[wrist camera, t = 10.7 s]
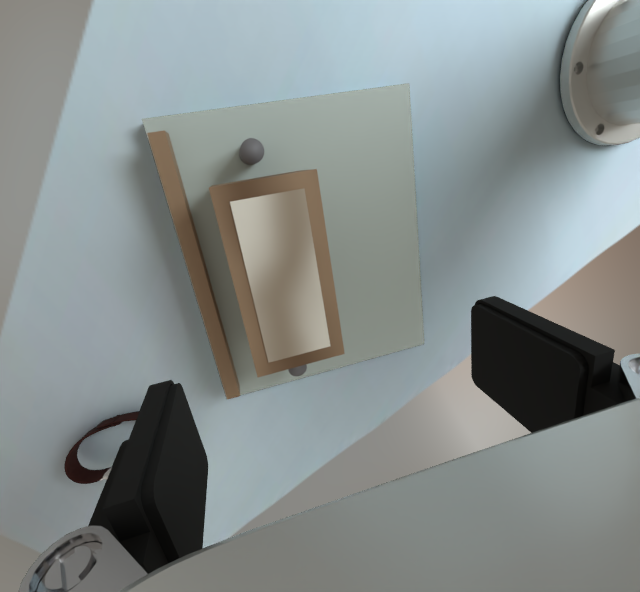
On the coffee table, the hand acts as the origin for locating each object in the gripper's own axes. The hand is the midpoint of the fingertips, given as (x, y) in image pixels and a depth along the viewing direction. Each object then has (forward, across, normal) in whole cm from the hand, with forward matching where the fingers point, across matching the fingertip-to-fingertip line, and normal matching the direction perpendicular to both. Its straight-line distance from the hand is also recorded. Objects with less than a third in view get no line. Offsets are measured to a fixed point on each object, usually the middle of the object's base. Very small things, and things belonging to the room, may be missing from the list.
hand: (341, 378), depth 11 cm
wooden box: (+17, 0, 0) cm, 17 cm away
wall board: (+18, -3, 0) cm, 18 cm away
